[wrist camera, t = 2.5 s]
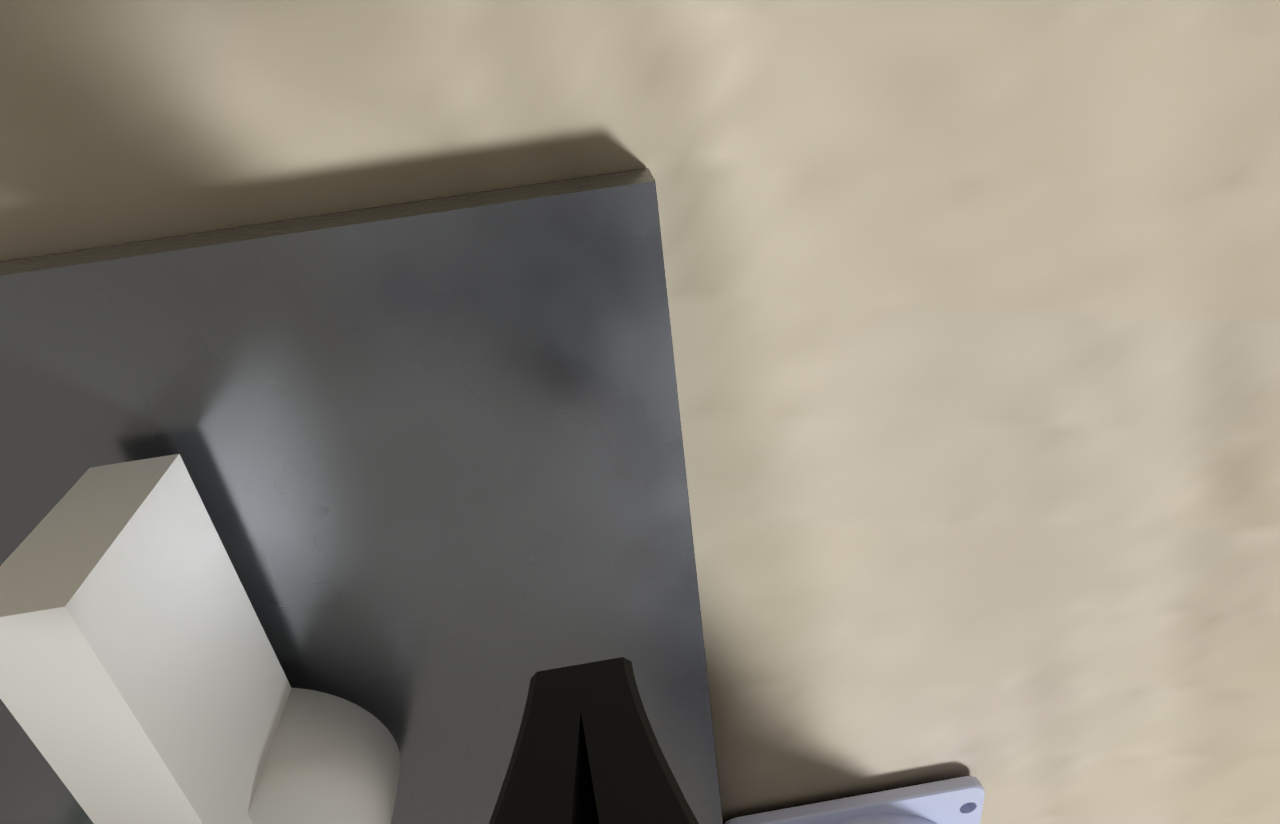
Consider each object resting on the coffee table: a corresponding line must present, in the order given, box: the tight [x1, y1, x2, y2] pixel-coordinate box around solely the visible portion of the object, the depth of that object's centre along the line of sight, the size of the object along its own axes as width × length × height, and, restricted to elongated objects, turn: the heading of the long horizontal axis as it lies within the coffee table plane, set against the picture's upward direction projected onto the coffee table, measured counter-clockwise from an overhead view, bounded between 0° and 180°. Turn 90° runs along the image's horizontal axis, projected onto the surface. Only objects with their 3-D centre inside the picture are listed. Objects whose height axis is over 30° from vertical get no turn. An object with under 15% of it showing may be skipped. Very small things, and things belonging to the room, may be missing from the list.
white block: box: [0, 454, 401, 824], centre depth 15 cm, size 11×5×4 cm, turn 6°
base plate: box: [0, 168, 723, 824], centre depth 17 cm, size 20×20×4 cm
